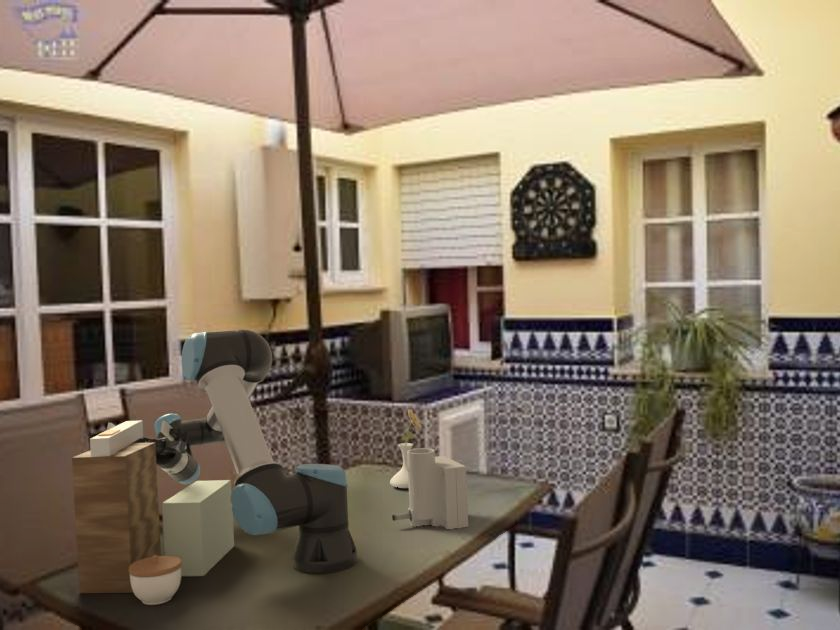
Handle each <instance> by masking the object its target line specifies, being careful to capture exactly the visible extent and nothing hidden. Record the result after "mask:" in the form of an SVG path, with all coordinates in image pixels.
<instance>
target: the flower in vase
mask: <svg viewBox="0 0 840 630" xmlns="http://www.w3.org/2000/svg"><path fill="white" fill-rule="evenodd" d="M407 415H408V417H409V419H410V423H409V424H408V427H407V431H406V434H403V435H402V437H401V440H402V441H405V442H402V443H399V444H397V446H398V447H399V450H400V451H401V455H402V467H401V469H400V470H398V471H397V473H395V475H393V476H392V477H391V479H390V482H389V484H390V485H391V486H393V487H395V488H397V487H398V489H409V484H408V462H407V451H408V450H412V449H413V446H414V443H409V442H407V441H408V440H409V439H411V440H412V439H414V434H413V433H412V431H409V430H410V427H411V425H413V426H414V428H415V429H416V430H417V431H422V429H421V428H423V426H422V424H421V420H420V419H419V418H418V416H417V413H414V411H413V409H410V408H408V410H407Z"/></svg>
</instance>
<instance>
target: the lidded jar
mask: <svg viewBox="0 0 840 630" xmlns="http://www.w3.org/2000/svg"><path fill="white" fill-rule="evenodd" d="M181 565H182V561H181V559H180V558H179V557H175V556H165V555H161V556H157V555H154V556H152V557H149V558H145V559H141V560H138V561H136V562H134V563H132V564H131V565H130V566H129V573H130V583H131V587H132V590H133V592H132V593H133V594H134V596H135V597H136V598H138V600H140V601H141V603H142V604H143V605H147V606H154V605H155V606H156V605H160V604H164V603H167V602H169V601H171V600H172V599H173V596H175V594H176V592H178V590H179V588H180V585H181V581H182V576H181Z"/></svg>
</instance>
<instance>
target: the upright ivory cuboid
mask: <svg viewBox="0 0 840 630" xmlns="http://www.w3.org/2000/svg"><path fill="white" fill-rule="evenodd" d="M232 491H233V490H232V479H225V480H224V479H223V480H222V479H219V480H216V479H215V480H195V481H194V482H192V483H190V484H189V485H188V486H186V487H184V489H182V490H181V491H178V492H177V493H176V494H174V495H173V496H171V497H170V498H168V499H166V500H164V501H163V502H162V503H161V509H162V512H161V513H162V525H163V526H162V529H163V531H162V532H163V543H164V544H163V546H164V556H175V557H179V558H180V559H181V561H182V565H181V577H204V576H205V575H207V574H208V573H209V571H210V570H211V569H212V568H214V566H216V565H217V563H218V562H219V561H220V560H222V559H223V558H224V556H226V554H228V553H229V552H230V551H231V550H233V548H234V547H235V537H234V536H235V535H234V534H235V533H234V515H233V512H232V504H231V493H232Z"/></svg>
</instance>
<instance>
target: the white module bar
mask: <svg viewBox="0 0 840 630" xmlns="http://www.w3.org/2000/svg"><path fill="white" fill-rule="evenodd" d="M143 424H144V423H143V419H141V420H126V421H124V422H122V423H119V424H117V425H115V427H113V428H111V429H109V430H107V429H106V430H105V431H103V432H100V433H99V434H97V435H95V436H93V437H91V438H89V445H90V447H89V448H90V450H91V457H104V456H111V455H112V454H114V453H116V452H118V451H119V450H121V449H123V448H124V447H126V446H128V445H129V444H131V443H133V442H135V441H136V440H138V439H140V438H141V439H142V438H144V425H143Z"/></svg>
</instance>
